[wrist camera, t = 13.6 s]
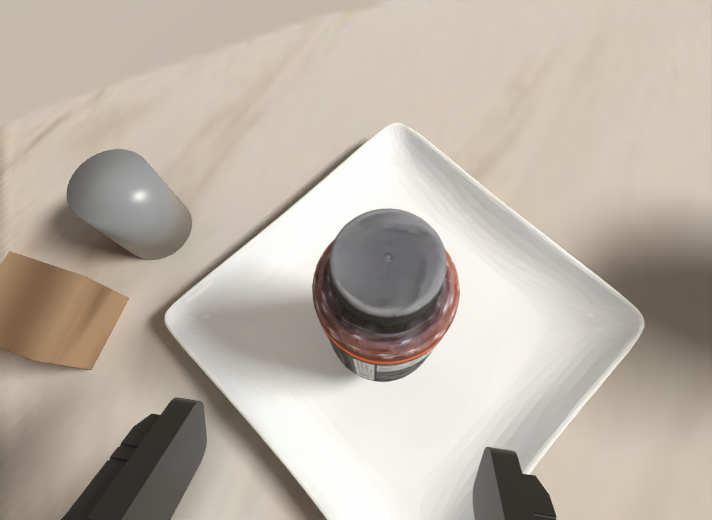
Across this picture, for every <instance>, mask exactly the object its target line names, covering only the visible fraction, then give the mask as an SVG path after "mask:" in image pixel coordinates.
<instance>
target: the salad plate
mask: <svg viewBox="0 0 712 520" xmlns="http://www.w3.org/2000/svg"><path fill="white" fill-rule="evenodd" d="M388 208H391V209H399V210H404V211H407V212H410V213H412V214H414V215H416V216H418V217H420V218H422V219H423V220H425V221H426V222H427V223H428V224H429V225H430V226H431V227H432V228H433V229H434V230H435V231H436V232H437V234H438V235H439V237H440V239H441V241H442V243H443V245H444V248H445V249H446V250H447V252H448V253H449V255H450V256H451V258H452V260H453V262H454V264H455V267H456V270H457V274H458V278H459V286H460V297H459V304H458V308H457V312H456V315H455V318H454V320H453V322H452V324H451V326H450V328H449V329H448V331H447V332H446V334H445V335H444V337H443V338H442V340H441V341H440V342H439V344H438V345H437V346H436V347H435V349H434V350H433V351H432V352H431V354H430V355H429V356H428V357H427V359H426V360H425V361H424V363H423V364H422V365H421V366H420V367H419V368H417V369H416V370H415V371H414V372H412V373H411V374H409V375H407V376H406V377H404V378H401V379H398V380H394V381H389V382H377V381H376V382H375V381H372V380H367V379H365V378H362V377H360V376H358V375H356V374H354V373H353V372H352V371H350V370H349V369H348V368H347V367H345V365H344V364H343V363H342V362H341V361H340V360H339V358H338V357H337V355H336V353H335V352H334V350H333V347H332V345H331V343H330V341H329V339H328V337H327V335H326V333H325V331H324V329H323V328H322V326H321V324H320V321H319V319H318V317H317V313H316V310H315V308H314V302H313V293H312V284H313V278H314V273H315V269H316V265H317V263H318V261H319V259H320V257H321V256H322V254H323V252H324V251H325V250H326V248H327V247H328V245H329V244H330V243H331V242H332V241H333V240H334V239H335V238H336V236H337V235H338V233H339V232H340V230H341V229H342V228H343V227H344V226H345V225H346V224H347V223H348V222H349V221H351V220H352V219H353V218H355V217H357V216H359V215H361V214H363V213H365V212H369V211H371V210H376V209H388ZM164 321H165V325H166V327H167V329H168V330H169V332H170V333H171V334H172V336H173V337H174V338H175V339H176V340H177V342H178V343H179V344H180V345H181V346H182V348H183V349H184V350H185V351H186V353H187V354H188V355H189V356H190V357H191V358H192V359H193V360H194V362H195V363H196V364H197V365H198V366H199V367H200V368H201V369H202V371H203V372H204V373H205V374H206V375H207V376H208V377H209V378H210V380H211V381H212V382H213V383H214V384H215V385H216V386H217V387H218V389H219V390H220V391H221V392H222V393H223V394H224V395H225V397H226V398H227V399H228V400H229V401H230V402H231V403H232V405H233V406H234V407H235V408H236V409H237V410H238V412H239V413H240V414H241V415H242V416H243V417H244V418H245V420H246V421H247V422H248V423H249V424H250V425H251V427H252V428H253V429H254V430H255V431H256V432H257V434H258V435H259V436H260V437H261V438H262V440H263V441H264V442H265V443H266V444H267V445H268V447H269V448H270V449H271V450H272V451H273V453H274V454H275V455H276V456H277V457H278V459H279V460H280V461H281V462H282V463H283V465H284V466H285V467H286V468H287V469H288V471H289V472H290V473H291V474H292V476H293V477H294V478H295V479H296V480H297V482H298V483H299V484H300V485H301V487H302V488H303V489H304V490H305V492H306V493H307V494H308V496H309V497H310V498H311V500H312V501H313V502H314V504H315V505H316V506H317V508H318V509H319V510H320V512H321V513H322V514H323V516H324V517H325V518H326V520H475V518H474V511H473V486H474V482H475V478H476V475H477V472H478V468H479V465H480V462H481V458H482V455H483V452H484V449H485V447H493V448H499V449H506V450H512V451H515V452H516V454H517V456H518V459H519V463H520V466H521V470H522V473H523V474H528V475H529V474H530V473H531V471H532V470H533V469H534V467H535V466H536V465H537V463H538V462H539V461H540V460H541V458H542V457H543V456H544V454H545V453H546V452H547V450H548V449H549V448H550V447H551V445H552V444H553V443H554V442H555V440H556V439H557V438H558V437H559V435H560V434H561V433H562V432H563V431H564V429H565V428H566V427H567V426H568V424H569V423H570V422H571V421H572V420H573V418H574V417H575V416H576V415H577V413H578V412H579V411H580V410H581V408H582V407H583V406H584V405H585V403H586V402H587V401H588V400H589V399H590V398H591V396H592V395H593V394H594V393H595V392H596V391H597V389H598V388H599V387H600V386H601V385H602V383H603V382H604V381H605V380H606V378H607V377H608V376H609V375H610V374H611V373H612V371H613V370H614V369H615V368H616V367H617V365H618V364H619V363H620V362H621V361H622V360H623V358H624V357H625V356H626V355H627V354H628V352H629V351H630V350H631V348H632V347H633V345H634V344H635V343H636V341H637V340H638V339H639V337H640V335H641V333H642V331H643V329H644V326H645V325H644V318H643V316H642V314H641V313H640V311H639V310H638V309H637V308H636V307H635V306H634V305H633V304H632V303H631V302H630V301H628V300H627V299H626V298H625V297H624V296H622V295H621V294H620V293H619V292H618V291H616V290H615V289H614V288H613V287H611V286H610V285H609V284H608V283H606V282H605V281H604V280H602V279H601V278H600V277H599V276H597V275H596V274H595V273H594V272H592V271H591V270H590V269H588V268H587V267H586V266H584V265H583V264H582V263H581V262H579V261H578V260H577V259H575V258H574V257H573V256H571V255H570V254H569V253H568V252H566V251H565V250H564V249H562V248H561V247H560V246H559V245H557V244H556V243H555V242H554V241H552V240H551V239H550V238H548V237H547V236H546V235H545V234H543V233H542V232H541V231H540V230H538V229H537V228H536V227H534V226H533V225H532V224H530V223H529V222H528V221H526V220H525V219H524V218H523V217H521V216H520V215H519V214H518V213H516V212H515V211H514V210H513V209H511V208H510V207H509V206H508V205H506V204H505V203H504V202H502V201H501V200H500V199H499V198H497V197H496V196H495V195H494V194H492V193H491V192H490V191H489V190H487V189H486V188H485V187H484V186H483V185H481V184H480V183H479V182H478V181H477V180H475V179H474V178H473V177H472V176H470V175H469V174H468V173H467V172H465V171H464V170H463V169H462V168H461V167H459V166H458V165H457V164H456V163H455V162H453V161H452V160H451V159H450V158H449V157H447V156H446V155H445V154H444V153H443V152H441V151H440V150H439V149H438V148H437V147H435V146H434V145H433V144H432V143H431V142H429V141H428V140H427V139H425V138H424V137H423V136H422V135H420V134H419V133H418V132H416V131H415V130H413V129H412V128H410V127H408V126H406V125H404V124H402V123H391V124H389V125H387V126H386V127H384V128H383V129H381V130H380V131H379V132H378V133H376V134H375V135H374V136H372V137H371V138H370V139H369V140H367V141H366V142H365V143H364V144H363V145H362V146H360V147H359V148H358V149H357V150H356V151H355V152H354V153H352V154H351V155H350V156H349V157H348V158H347V159H346V160H344V161H343V162H342V163H341V164H340V165H339V166H338V167H337V168H335V169H334V170H333V171H332V172H331V173H330V174H329V175H327V176H326V177H325V178H324V179H323V180H322V181H320V182H319V183H318V184H317V185H316V186H315V187H314V188H312V189H311V190H310V191H309V192H308V193H307V194H305V195H304V196H303V197H302V198H301V199H300V200H298V201H297V202H296V203H295V204H294V205H292V206H291V207H290V208H289V209H288V210H286V211H285V212H284V213H283V214H282V215H280V216H279V217H278V218H277V219H276V220H274V221H273V222H272V223H271V224H270V225H268V226H267V227H266V228H265V229H263V230H262V231H261V232H260V233H259V234H258V235H256V236H255V237H254V238H253V239H251V240H250V241H249V242H248V243H246V244H245V245H244V246H243V247H241V248H240V249H239V250H238V251H237V252H235V253H234V254H233V255H232V256H230V257H229V258H228V259H227V260H225V261H224V262H223V263H222V264H220V265H219V266H218V267H217V268H215V269H214V270H213V271H212V272H210V273H209V274H208V275H207V276H206V277H204V278H203V279H202V280H201V281H199V282H198V283H197V284H196V285H195V286H193V287H192V288H191V289H190V290H188V291H187V292H186V293H185V294H184V295H183V296H181V297H180V298H179V299H178V300H177V301H176V302H174V303H173V304H172V305H171V306H170V308H169V309H168V310H167V311H166V313H165V316H164Z"/></svg>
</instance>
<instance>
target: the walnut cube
mask: <svg viewBox="0 0 712 520" xmlns="http://www.w3.org/2000/svg"><path fill="white" fill-rule="evenodd" d="M128 300H129V298H128V297H126V296H124V295H122V294H120V293H118V292H116V291H114V290H111V289H109V288H107V287H105V286H103V285H101V284H99V283H97V282H95V281H93V280H91V279H89V278H87V277H85V276H83V275H80V274H77V273H74V272H71V271H68V270H65V269H62V268H59V267H56V266H53V265H49V264H46V263H43V262H40V261H37V260H34V259H31V258H28V257H25V256H22V255H19V254H16V253H13V252H10V251H9V253H8V254H7V256H6V257H5V259H4V260H3V262H2V264H1V265H0V348H1V349H4V350H7V351H9V352H12V353H15V354H17V355H20V356H23V357H26V358H28V359H31V360H34V361H39V362H45V363H52V364H58V365H64V366H70V367H76V368H83V369H89V370H92V368H93V366H94V364H95V362H96V360H97V358H98V357H99V355H100V353H101V351H102V349H103V347H104V345H105V343H106V341H107V339H108V338H109V336H110V334H111V332H112V330H113V328H114V326H115V324H116V322H117V320H118V319H119V317H120V315H121V313H122V311H123V309H124V307H125V305H126V303H127V302H128Z"/></svg>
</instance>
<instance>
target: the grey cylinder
mask: <svg viewBox="0 0 712 520" xmlns="http://www.w3.org/2000/svg"><path fill="white" fill-rule="evenodd" d="M67 201H68V204H69V206H70V208H71V210H72V211H73V213H74V214H75V215H77V216H78V217H79V218H81V219H82V220H84V221H85V222H86V223H88V224H89V225H91V226H92V227H94V228H95V229H97V230H98V231H100V232H101V233H103V234H104V235H105V236H107V237H108V238H110V239H111V240H113V241H114V242H116V243H117V244H119V245H120V246H121V247H123V248H124V249H126V250H127V251H129V252H130V253H132V254H133V255H135V256H137V257H139V258H141V259H146V260H157V259H162V258H165V257H167V256H170V255H171V254H173V253H175V252H176V251H177V250H179V249H180V248H181V247H182V246H183V244H184V243H185V242H186V240H187V239H188V237H189V235H190V232H191V228H192V219H191V215H190V212H189V210H188V209H187V207H186V206H185V205H184V204H183V203H182V202H181V200H180V199H179V198H178V197H177V196H176V195H175V194H174V192H173V191H172V190H171V189H170V188H169V187H168V186H167V184H166V183H165V182H164V181H163V180H162V179H161V177H160V176H159V175H158V174H157V173H156V172H155V171H154V169H153V168H152V167H151V166H150V165H149V164H148V163H147V161H146V160H145V159H144V158H143V157H142V156H140V155H139V154H137V153H135V152H132V151H129V150H123V149H114V150H108V151H104V152H101V153H98V154H96V155H94V156H92V157H91V158H89V159H87V160H86V161H85V162H84V163H82V164H81V165H80V166H79V167H78V168H77V170H76V171H75V172H74V174H73V175H72V177H71V179H70V181H69V184H68V188H67Z"/></svg>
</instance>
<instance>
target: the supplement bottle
mask: <svg viewBox="0 0 712 520" xmlns="http://www.w3.org/2000/svg"><path fill="white" fill-rule="evenodd" d="M312 293H313V302H314V308H315V310H316V313H317V317H318V319H319V321H320V324H321V326H322V328H323V329H324V331H325V333H326V335H327V337H328V339H329V341H330V343H331V345H332V347H333V350H334V352H335V353H336V355H337V357H338V358H339V360H340V361H341V362H342V363H343V364H344V365H345V367H347V368H348V369H349V370H350V371H352V372H353V373H354V374H356V375H358V376H360V377H362V378H365V379H367V380H372V381H375V382H376V381H377V382H389V381H394V380H398V379H401V378H404V377H406V376H407V375H409V374H411V373H412V372H414V371H415V370H416V369H417V368H419V367H420V366H421V365H422V364H423V363H424V361H425V360H426V359H427V357H428V356H429V355H430V354H431V352H432V351H433V350H434V349H435V347H436V346H437V345H438V344H439V342H440V341H441V340H442V338H443V337H444V335H445V334H446V332H447V331H448V329H449V328H450V326H451V324H452V322H453V320H454V318H455V315H456V312H457V308H458V304H459V297H460V286H459V278H458V274H457V270H456V267H455V264H454V262H453V260H452V258H451V256H450V255H449V253H448V252H447V250H446V249H445V248H444V245H443V243H442V241H441V239H440V237H439V235H438V234H437V232H436V231H435V230H434V229H433V228H432V227H431V226H430V225H429V224H428V223H427V222H426V221H425V220H423V219H422V218H420V217H418V216H416V215H414V214H412V213H410V212H407V211H404V210H399V209H391V208H388V209H376V210H371V211H369V212H365V213H363V214H361V215H359V216H357V217H355V218H353V219H352V220H351V221H349V222H348V223H347V224H346V225H345V226H344V227H343V228H342V229H341V230H340V232H339V233H338V235H337V236H336V238H335V239H334V240H333V241H332V242H331V243H330V244H329V245H328V247H327V248H326V250H325V251H324V252H323V254H322V256H321V257H320V259H319V261H318V263H317V265H316V269H315V273H314V278H313V284H312Z"/></svg>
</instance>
